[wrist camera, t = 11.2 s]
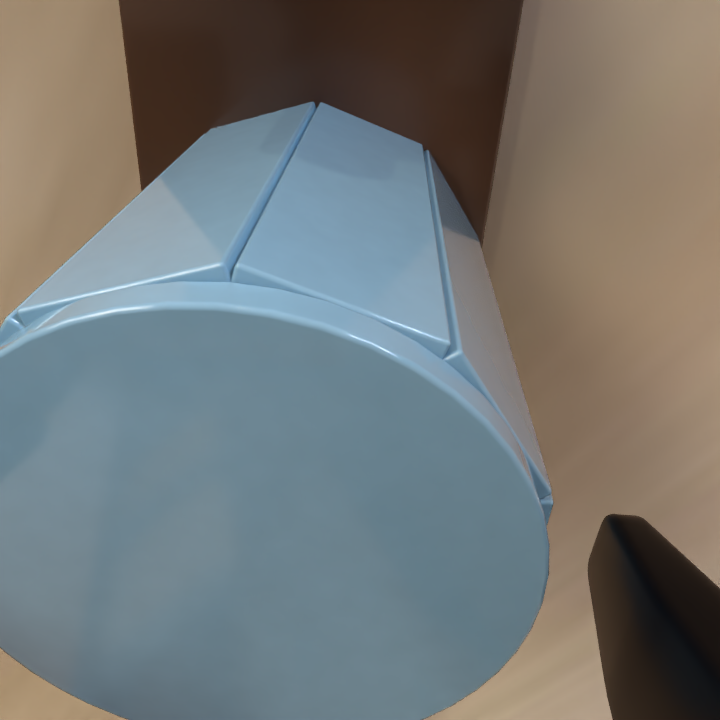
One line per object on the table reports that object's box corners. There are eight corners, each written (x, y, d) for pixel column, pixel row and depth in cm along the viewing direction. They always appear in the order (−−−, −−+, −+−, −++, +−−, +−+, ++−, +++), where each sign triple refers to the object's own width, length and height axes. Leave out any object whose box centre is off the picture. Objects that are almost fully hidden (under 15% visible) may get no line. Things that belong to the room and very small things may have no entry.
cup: (500, 114, 12) (635, 320, 5) (449, 420, 16) (490, 771, 9) (134, 88, 12) (-201, 257, 5) (170, 399, 16) (1, 732, 9)
